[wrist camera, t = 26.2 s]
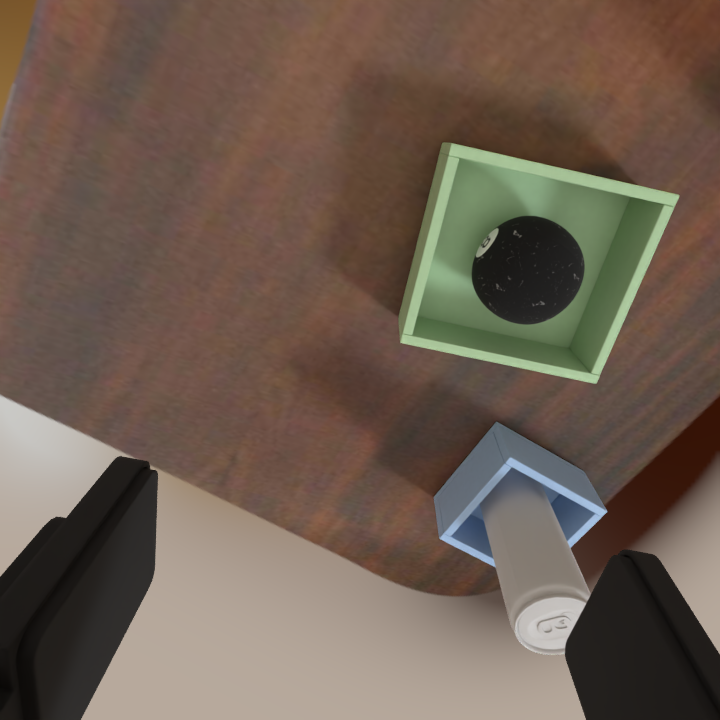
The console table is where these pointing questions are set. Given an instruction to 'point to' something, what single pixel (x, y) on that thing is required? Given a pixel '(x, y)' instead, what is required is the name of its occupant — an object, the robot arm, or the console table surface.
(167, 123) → the console table surface
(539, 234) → the billiard ball
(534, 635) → the beverage can
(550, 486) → the bin
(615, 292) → the ball bin
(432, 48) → the console table surface
